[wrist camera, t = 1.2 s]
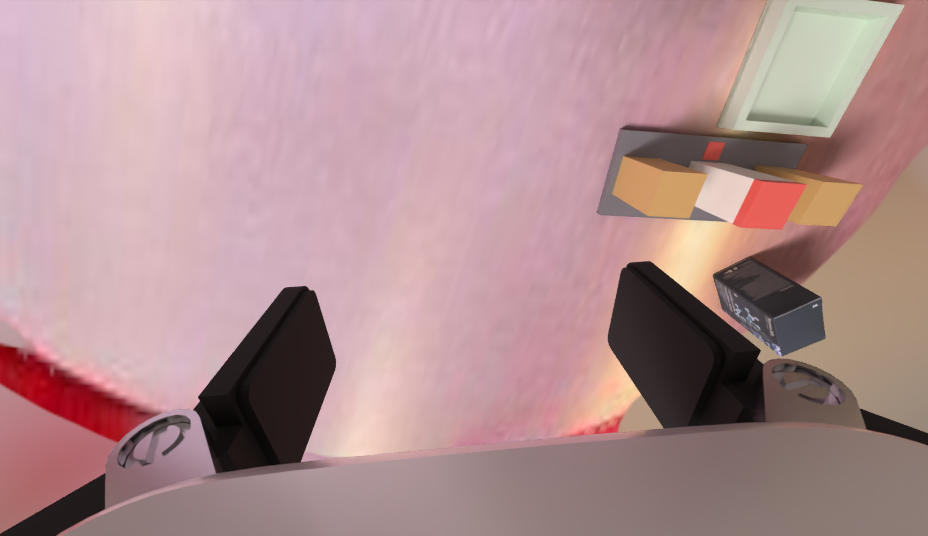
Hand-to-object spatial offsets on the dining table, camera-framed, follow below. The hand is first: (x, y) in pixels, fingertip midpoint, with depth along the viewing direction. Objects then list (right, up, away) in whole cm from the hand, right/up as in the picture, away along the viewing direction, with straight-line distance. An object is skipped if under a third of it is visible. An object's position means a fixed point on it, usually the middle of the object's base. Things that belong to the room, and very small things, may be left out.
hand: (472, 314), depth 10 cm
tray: (+36, +23, +26) cm, 50 cm away
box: (+41, -1, +40) cm, 57 cm away
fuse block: (+29, +13, +31) cm, 44 cm away
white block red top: (+29, +12, +30) cm, 44 cm away
